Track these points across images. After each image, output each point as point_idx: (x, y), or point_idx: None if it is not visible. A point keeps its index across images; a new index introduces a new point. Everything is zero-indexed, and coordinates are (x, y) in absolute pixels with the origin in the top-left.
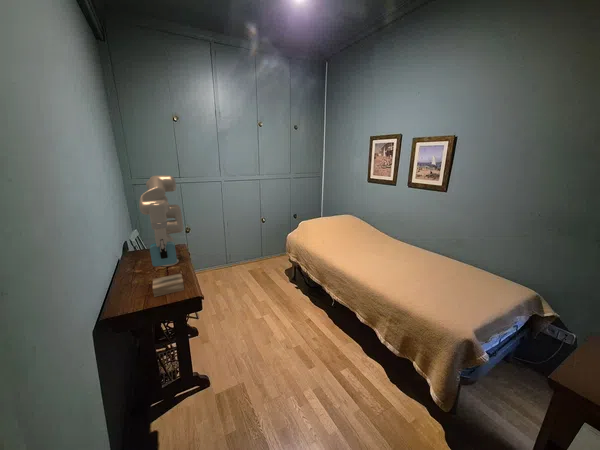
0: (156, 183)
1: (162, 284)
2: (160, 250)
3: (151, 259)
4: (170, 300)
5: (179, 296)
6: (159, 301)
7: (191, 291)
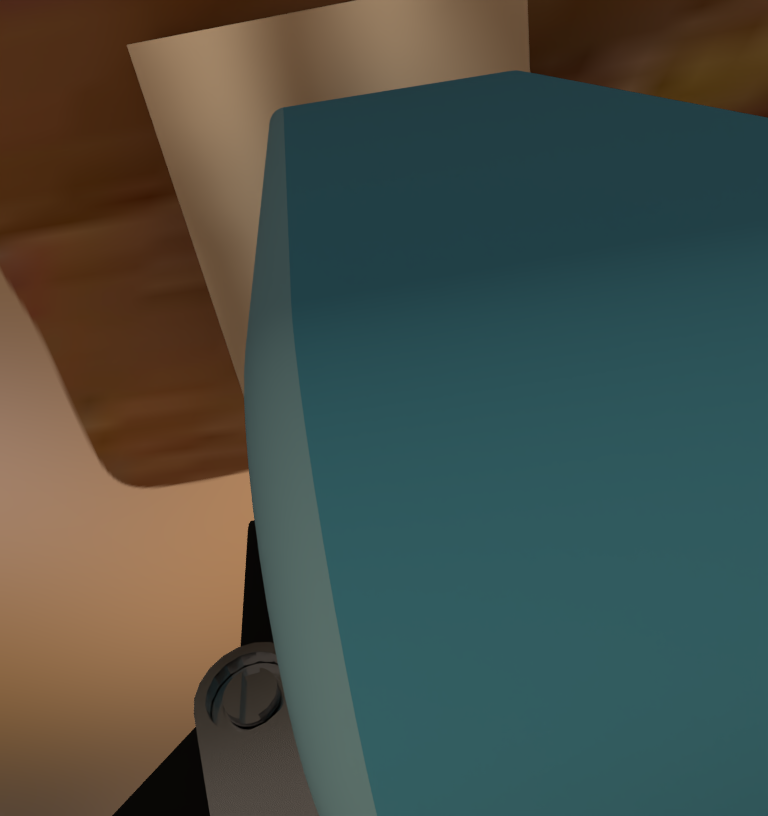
0: None
1: (254, 179)
2: (203, 755)
3: (277, 135)
4: (35, 269)
5: (116, 349)
6: (23, 141)
7: (205, 444)
